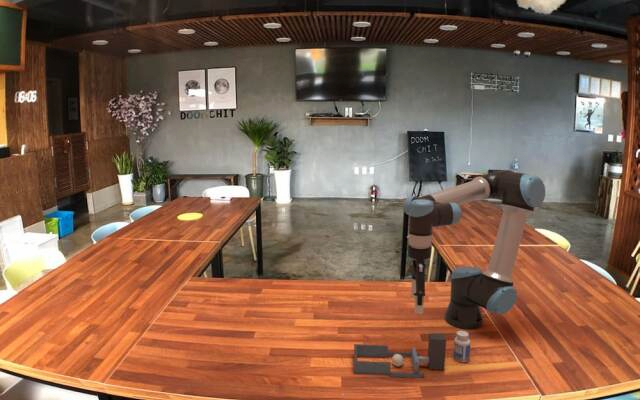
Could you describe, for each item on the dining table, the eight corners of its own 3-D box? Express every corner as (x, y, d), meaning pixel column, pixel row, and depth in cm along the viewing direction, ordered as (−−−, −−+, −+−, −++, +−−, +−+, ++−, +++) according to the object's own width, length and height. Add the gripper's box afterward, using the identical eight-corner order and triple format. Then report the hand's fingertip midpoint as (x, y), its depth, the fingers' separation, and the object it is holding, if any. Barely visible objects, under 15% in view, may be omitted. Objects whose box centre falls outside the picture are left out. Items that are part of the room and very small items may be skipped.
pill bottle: (466, 354, 160) (467, 329, 158) (471, 362, 155) (473, 337, 153) (451, 354, 160) (452, 329, 158) (456, 363, 155) (457, 337, 153)
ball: (402, 362, 155) (403, 351, 154) (404, 368, 151) (404, 358, 150) (391, 361, 155) (391, 351, 154) (392, 368, 151) (392, 357, 150)
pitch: (418, 355, 159) (418, 345, 159) (424, 378, 146) (424, 367, 145) (353, 352, 161) (354, 342, 160) (354, 375, 147) (354, 364, 146)
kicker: (440, 359, 156) (442, 330, 154) (445, 373, 148) (447, 343, 145) (411, 358, 157) (412, 329, 155) (414, 372, 148) (416, 342, 146)
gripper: (405, 235, 162) (403, 290, 166) (411, 256, 138) (408, 320, 142) (426, 236, 161) (423, 291, 165) (436, 257, 137) (432, 321, 141)
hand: (416, 304), depth 153 cm, fingers open, 13 cm apart
